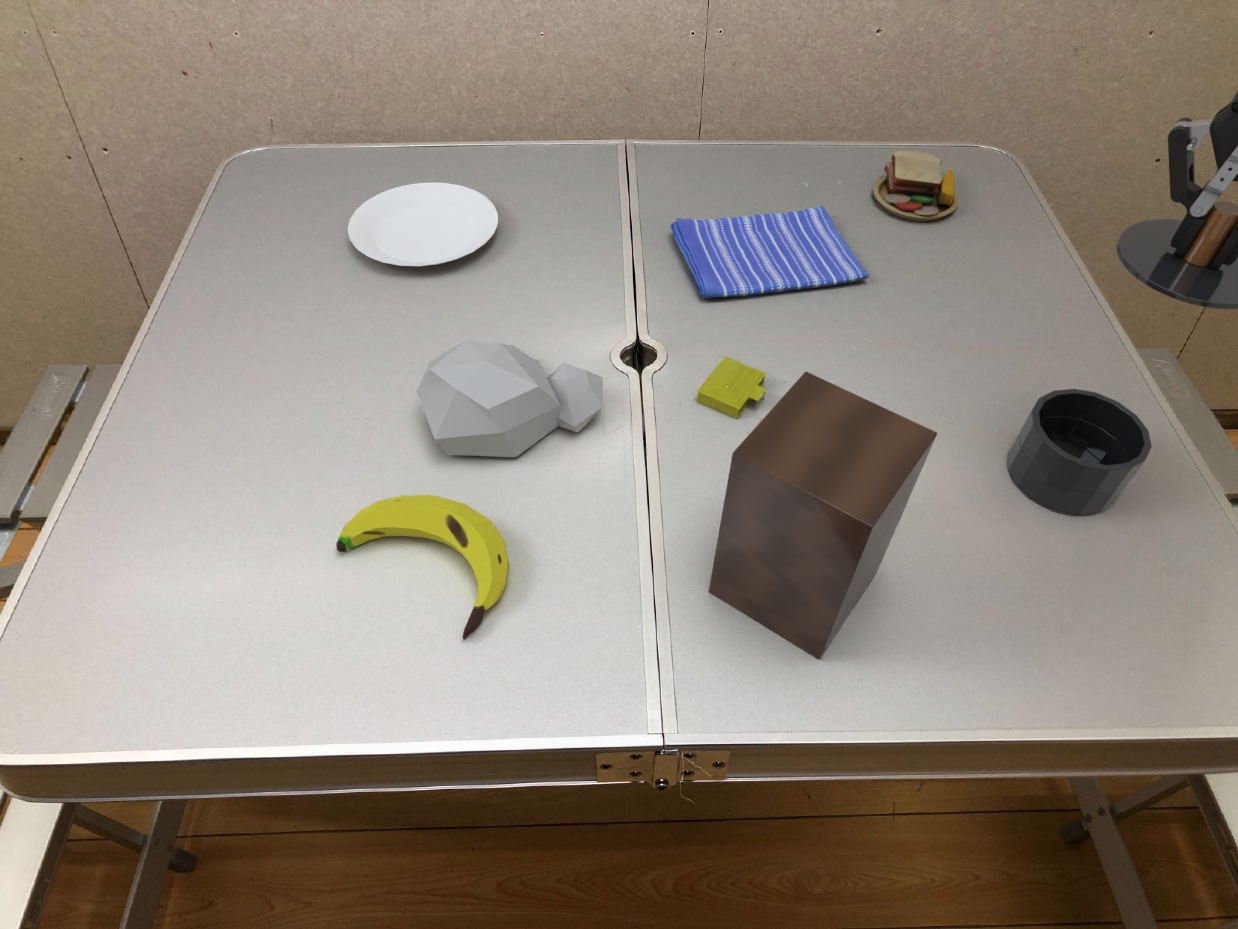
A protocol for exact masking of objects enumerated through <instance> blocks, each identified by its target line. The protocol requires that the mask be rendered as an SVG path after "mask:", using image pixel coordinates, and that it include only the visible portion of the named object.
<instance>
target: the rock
mask: <svg viewBox="0 0 1238 929" xmlns="http://www.w3.org/2000/svg"><path fill="white" fill-rule="evenodd" d="M603 378H604V377H603V376H602V375H601V376H600V375H599V374H596V373H594V372H592V371H589V370H587V369H584V368H581V367H578V366H575V365H572V364H569V363H568V362H567V363H566V362H563V363H562V364H560V365H558V367H557V368H556V369H554V371H553V372H551V373H550V374H549V375H548V376H547V375H546V373H545V371H544V369H543V367H542V365H541V362H540V361H539V360H538V359H536V358H534V357H531V356H530V355H528V354H527V353H525V352H524V351H523V350H521V349H519V348H518V347H516V346H515V345H513V344H507V343H502V342H483V341H477V340H469V339H466V340H464V341H462V342H461V343H459V344H457V345H456V346H454V347H451V348H450V349H448V350H446V351H445V352H443V353H442V354H440V355H438V356H436V357H435V358H433V359H430V361H429V362H428V364H427V365H426V369H425V370H424V373H423V375H422V378H421V380H420V383H419V385H418V387H417V389H416V393H417V396H418V400H419V402H420V404H421V407H422V411H423V412H424V415H425V418H426V421H427V424H428V426H429V429H430V431H431V434H432V437H433V439H434V441H435V442H436V443H437V444H438V446H439V447H440V449H441V450H442V451H443V452H444V453H445V455H446V456H447V455H449V456H473V457H477V456H478V457H496V458H497V457H500V458H517V457H518V456H520V455H521V454H523V453H524V452H526V451H527V450H528V449H529V448H531V447H532V446H533V445H535V444H536V443H537V442H539V441H540V440H541V439H543V438H544V437H546V436H547V435H548V434H550V433H551V432H552V431H554V430H555V429H557V428H558V427H560V428H563V429H566V430H568V431H572V432H575V433H577V434H578V433H580V432H581V430H582V429H583V428H584V427H585V426H587V425H588V423H589V422H591V420H592V419H593V418H594V417H595V416H596V415H597V414H598V413H599V411H601V409H602V408H603V395H604V394H603V393H604V392H603V390H604V389H603V387H604V386H603V384H604V379H603Z"/></svg>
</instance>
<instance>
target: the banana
mask: <svg viewBox="0 0 1238 929" xmlns="http://www.w3.org/2000/svg"><path fill="white" fill-rule="evenodd" d="M383 537H384V538H385V537H412V538H424V539H428V540H431V541H435V542H438V543H442V544H444V545H447V546H449V547H450V548H452V549H453V550H455V551H456V552H458V553H459V554H461V555H462V556H463V557H464V558H465V560H466V561H467V562H468V564H469V565H470V567H471V568H472V571H473V575H474V576H475V579H476V582H477V598H476V600H475V604H474V606H473V608H472V610H471V612H470V615H469V617H468V619H467V622H466V624H465V627H464V630H463V632H462V639H463V641H465V640H466V639H467V638H468V637H469V636H470V635H472V633H474V632H475V631H476V629H477V628H478V627H479V626H480V625H481V623H482V621H483V619H484V616H485V614H486V612H487V611H488V610H489V609H490V608H492V607H493V606H495V604H496V603H497V602H498V601H499V600H500V598H501V596H502V594H503V592H504V590H505V589H506V586H507V581H508V576H509V570H510V563H509V556H508V551H507V546H506V541H505V539H504V538H503V536H502V535H501V533H500V532H499V530H498V528H496V526H495V525H494V523H493V521H492V520H490V519H489V518H487V517H485V516H484V515H483V514H481V513H480V512H478V511H476V510H475V509H474V508H472V507H470V506H469V505H468V504H466V503H465V502H461V501H460V502H459V501H457V500H452V499H448V498H444V497H441V496H437V495H433V494H415V495H413V494H412V495H399V496H394V497H390V498H384V499H380V500H377V501H376V502H373V503H372V504H370V505H368V506H366V507H364V508H363V509H360V511H358V512H357V513H356V514H355V515H354V516H353V517H352V518H351V519H350V520H349V521H348V522H347V523H345V525H344V526H343V528H342V529H341V532H340V534H339V536H338V538H337V540H336V543H335V544H336V549H337V551H338V552H339V553H347V552H348V551H349V550H351V549H353V548H355V547H357V546H360V545H362V544H364V543H366V542H369V541H371V540H372V541H373V540H376V539H380V538H383Z"/></svg>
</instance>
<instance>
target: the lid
mask: <svg viewBox="0 0 1238 929" xmlns="http://www.w3.org/2000/svg"><path fill="white" fill-rule="evenodd" d="M1182 221H1183V219H1181V220H1180V219H1172V218H1156V219H1148V220H1143V221H1139V222H1135V223H1134V224H1131V225H1129V226H1128V227H1127V228H1125V229H1124V230H1123V231H1122V232H1121V234H1120V236H1119V237H1118V240H1117V243H1116V254H1117V257H1118V259H1119V261H1120V263H1121V264H1122V265H1123V267H1124V268H1125V269H1126V270H1127V271H1128V272H1129V274H1131V275H1132V276H1133V277H1134V278H1135V279H1137V280H1138V281H1140V282H1141V283H1143V284H1144V285H1146V286H1147V287H1149V288H1151V289H1152V290H1154V291H1155V292H1158V293H1160V294H1162V295H1163V296H1167V297H1169V298H1172V299H1175V300H1177V301H1180V302H1183V303H1187V304H1190V305H1194V306H1198V307H1203V308H1209V309H1217V310H1238V258H1237V259H1236V261H1235V262H1234V263H1232V264H1231V265H1229V266H1227V265H1224V264H1222V265H1221V267H1220V268H1219V270H1217V269H1214V268H1211V267H1209V266H1210V264H1211V263H1212V261H1213V260H1214V258H1215V256H1216V255H1217V253H1218V252H1219V250H1220V249H1221V247H1222V246H1223V244H1224V243H1225V241H1226V239H1227V238H1228V236H1229V235H1230V233H1231V232H1232V230H1233V229H1234V227H1235V226H1236V224H1237V223H1238V204H1236V203H1234V202H1231V201H1227V200H1219V201H1215V203H1214V204H1213V205H1212V207H1211V208H1210V211H1209V212H1208V214H1207V217H1206V219H1205V221H1204V223H1203V224H1202V226H1201V228H1200V229H1199V231H1198V232H1197V234H1196V236H1195V237H1194V239H1193V241H1192V242H1191V244H1190V245H1189V247H1188V249H1187V250H1186V252H1185V254H1184V255H1183V257H1182V258H1181V257H1179V256H1176V255H1173V254H1174V252H1175V250H1176V249H1177V248H1174V247H1171V240H1172V238H1173V236H1174V234H1175V232H1176V231H1177V229H1178V227H1179V226H1180V224H1181V222H1182Z"/></svg>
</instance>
